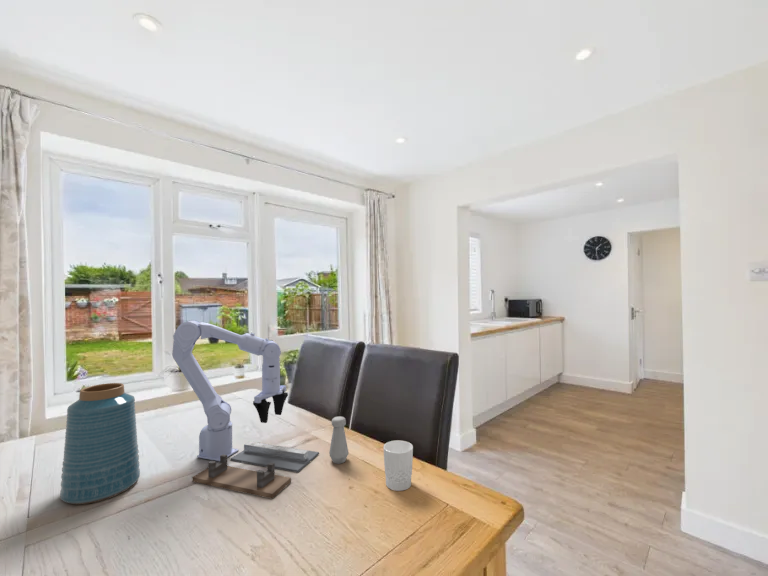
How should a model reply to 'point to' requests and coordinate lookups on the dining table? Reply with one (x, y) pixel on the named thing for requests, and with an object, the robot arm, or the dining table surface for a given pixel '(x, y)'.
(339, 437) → the salt shaker
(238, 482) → the rack
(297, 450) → the rail
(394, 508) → the dining table surface
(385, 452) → the white cup
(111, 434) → the vase
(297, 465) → the mat
